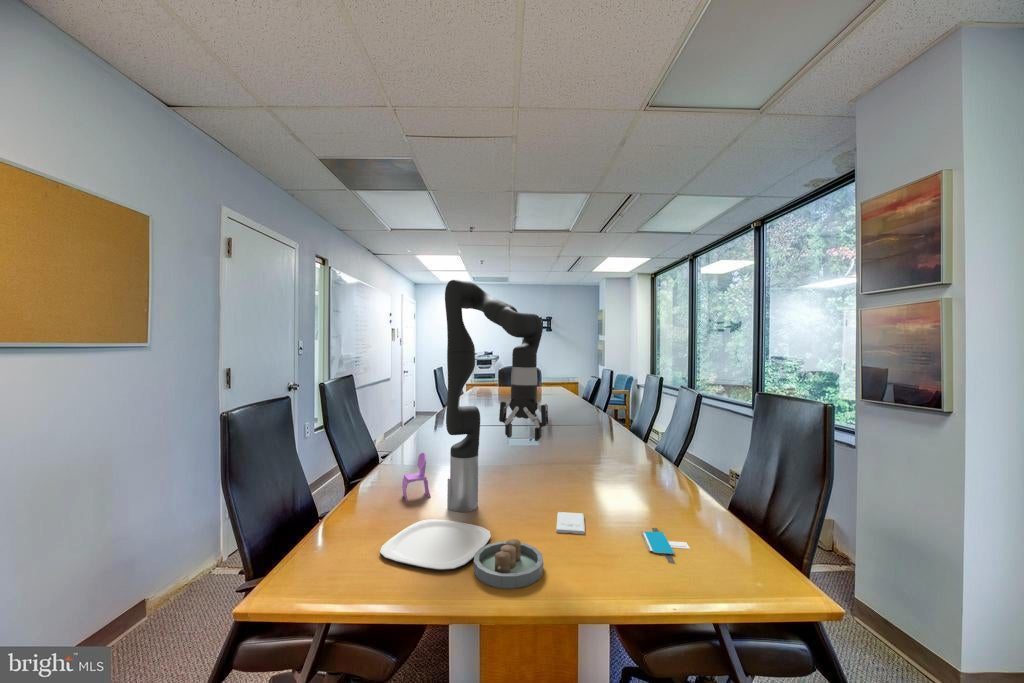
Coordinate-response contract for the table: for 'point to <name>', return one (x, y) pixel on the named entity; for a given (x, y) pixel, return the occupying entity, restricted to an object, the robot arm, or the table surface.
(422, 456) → the toy chair
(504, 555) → the bead string
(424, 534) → the plate
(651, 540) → the blue flat panel
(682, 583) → the table surface
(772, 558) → the table surface
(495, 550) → the round tray
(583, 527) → the external hard drive
